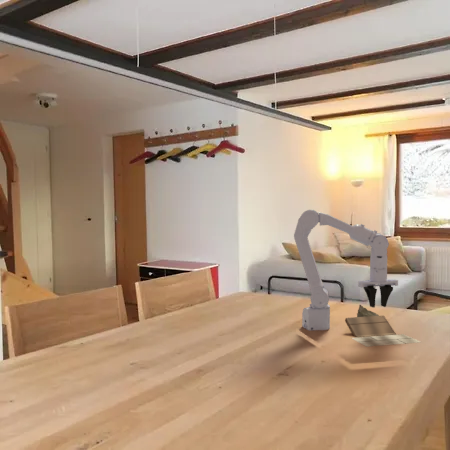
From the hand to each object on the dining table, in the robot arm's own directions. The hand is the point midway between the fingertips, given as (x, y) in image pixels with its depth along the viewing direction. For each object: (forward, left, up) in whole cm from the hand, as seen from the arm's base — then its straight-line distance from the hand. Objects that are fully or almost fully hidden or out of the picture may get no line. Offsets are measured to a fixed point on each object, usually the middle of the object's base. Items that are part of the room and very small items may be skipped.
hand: (377, 306), depth 173 cm
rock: (+4, +12, -10) cm, 16 cm away
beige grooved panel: (-4, -11, -10) cm, 16 cm away
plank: (-4, -1, -7) cm, 8 cm away
